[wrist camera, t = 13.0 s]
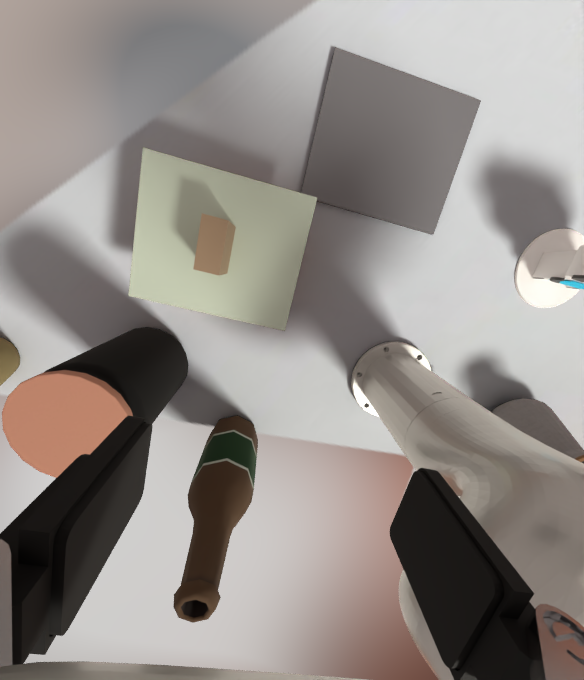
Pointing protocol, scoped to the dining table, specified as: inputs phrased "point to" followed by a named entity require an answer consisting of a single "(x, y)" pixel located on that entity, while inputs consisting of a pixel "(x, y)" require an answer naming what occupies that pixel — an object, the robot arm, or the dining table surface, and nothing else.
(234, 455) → the beer bottle
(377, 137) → the mat
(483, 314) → the dining table surface
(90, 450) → the coffee jar
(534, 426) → the coffee pot
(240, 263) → the lid
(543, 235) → the panda figurine
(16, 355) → the squeeze bottle
